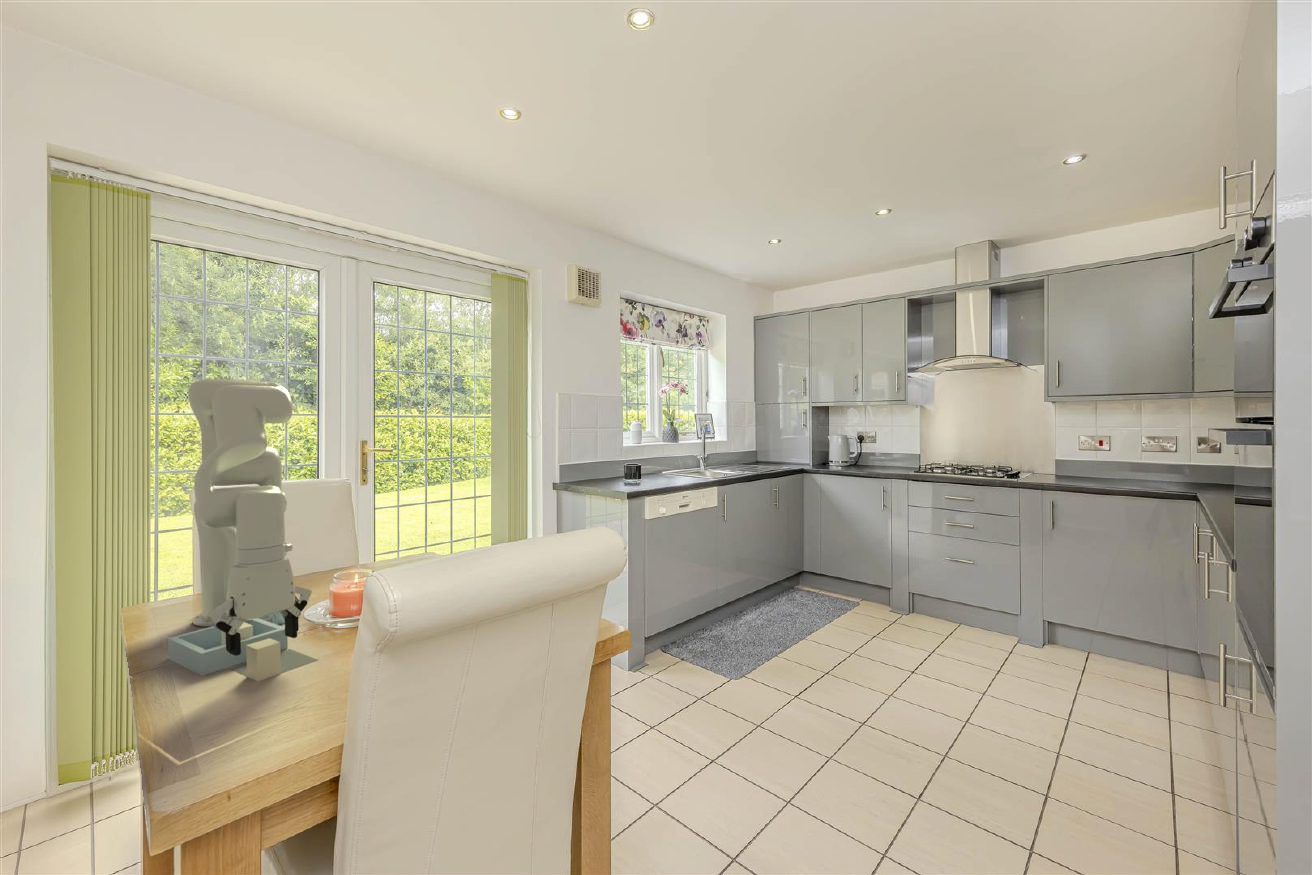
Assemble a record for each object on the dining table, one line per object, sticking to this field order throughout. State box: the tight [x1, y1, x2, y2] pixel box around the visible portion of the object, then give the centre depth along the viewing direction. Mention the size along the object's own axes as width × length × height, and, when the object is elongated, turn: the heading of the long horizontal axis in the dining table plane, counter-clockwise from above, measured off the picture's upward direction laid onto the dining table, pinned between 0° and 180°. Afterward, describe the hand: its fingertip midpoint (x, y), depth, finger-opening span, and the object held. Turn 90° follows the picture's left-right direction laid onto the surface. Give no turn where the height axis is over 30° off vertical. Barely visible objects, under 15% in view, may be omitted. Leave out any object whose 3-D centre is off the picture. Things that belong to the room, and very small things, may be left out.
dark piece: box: [259, 595, 299, 626], centre depth 137 cm, size 10×7×12 cm
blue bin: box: [167, 618, 289, 677], centre depth 118 cm, size 15×15×4 cm
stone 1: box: [221, 622, 253, 645], centre depth 116 cm, size 4×4×6 cm
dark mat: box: [228, 648, 318, 682], centre depth 112 cm, size 11×11×1 cm
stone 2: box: [246, 638, 282, 682], centre depth 108 cm, size 4×4×6 cm
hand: (264, 645), depth 107 cm, fingers open, 9 cm apart
